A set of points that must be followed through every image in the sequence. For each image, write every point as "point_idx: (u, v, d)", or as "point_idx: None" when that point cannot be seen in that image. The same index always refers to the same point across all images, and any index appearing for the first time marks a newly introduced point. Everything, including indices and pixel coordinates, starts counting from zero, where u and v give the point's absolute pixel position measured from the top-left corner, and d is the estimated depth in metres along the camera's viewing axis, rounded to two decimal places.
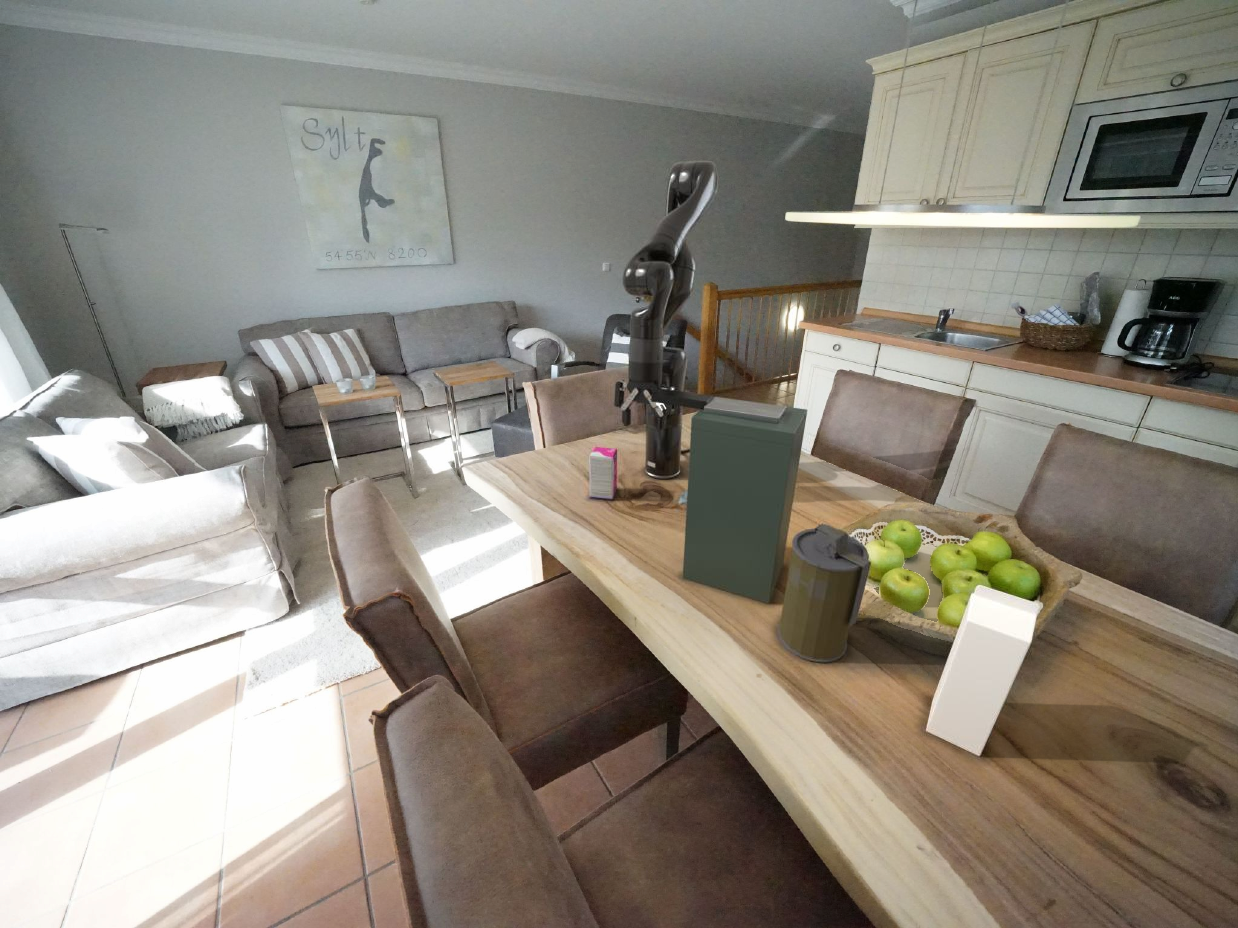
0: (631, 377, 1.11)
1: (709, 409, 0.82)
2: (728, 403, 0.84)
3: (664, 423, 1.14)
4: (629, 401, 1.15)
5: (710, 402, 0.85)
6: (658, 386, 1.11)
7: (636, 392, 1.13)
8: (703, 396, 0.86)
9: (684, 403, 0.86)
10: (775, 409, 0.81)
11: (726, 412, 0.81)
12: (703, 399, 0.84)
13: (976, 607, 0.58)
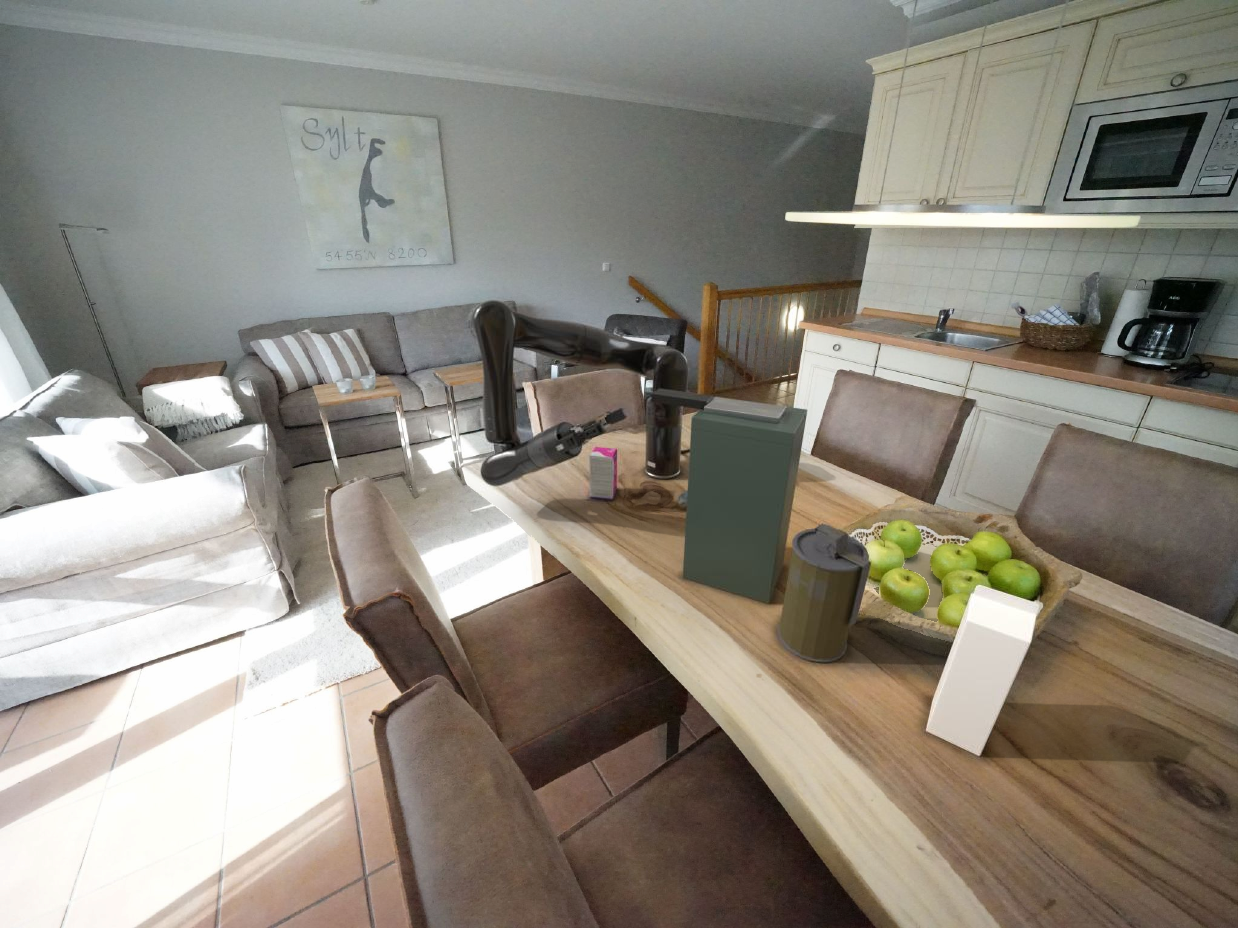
0: None
1: (709, 409, 0.82)
2: (728, 403, 0.84)
3: (592, 433, 0.92)
4: None
5: (710, 402, 0.85)
6: None
7: None
8: (703, 396, 0.86)
9: (684, 403, 0.86)
10: (775, 409, 0.81)
11: (726, 412, 0.81)
12: (703, 399, 0.84)
13: (976, 606, 0.58)
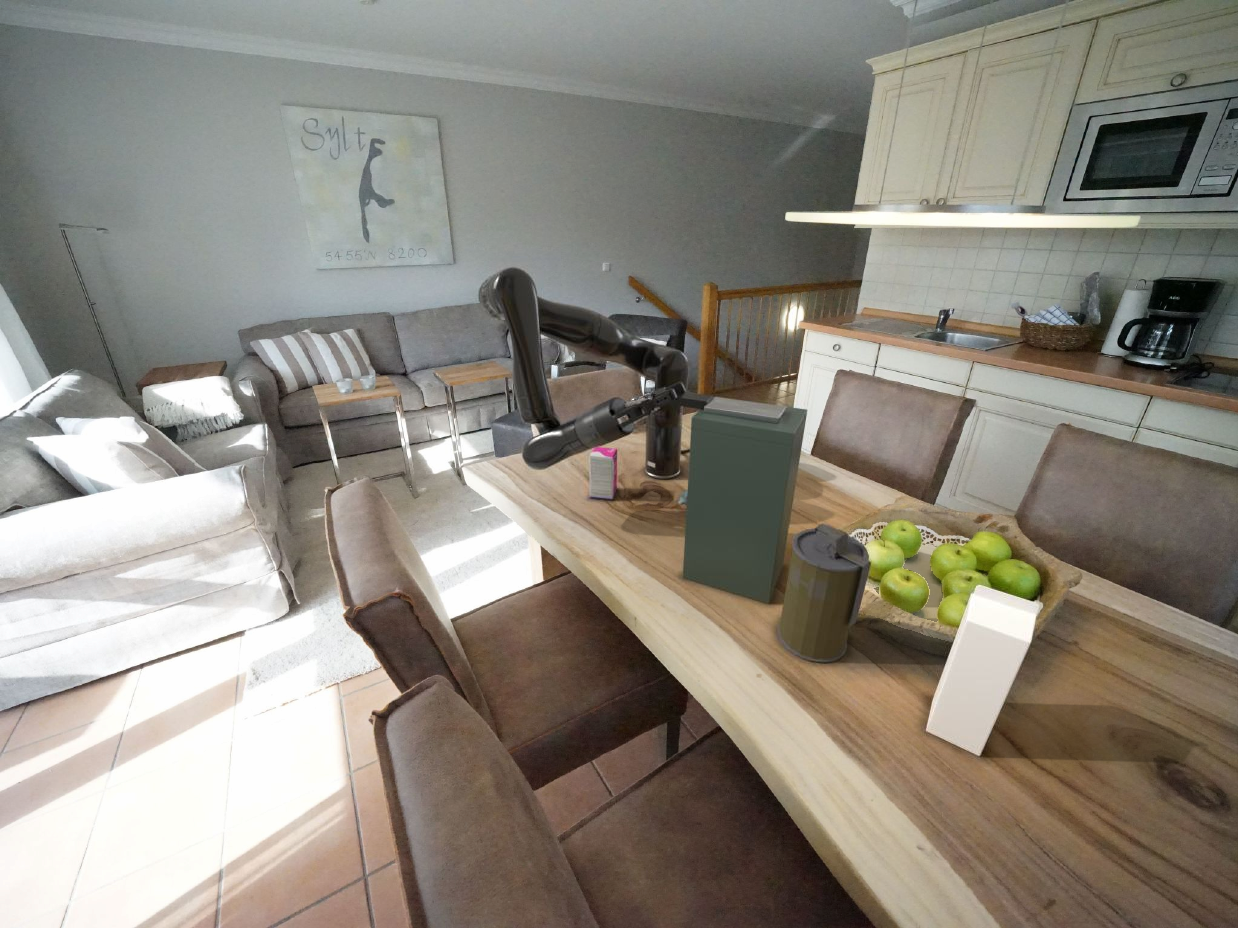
0: None
1: (709, 409, 0.82)
2: (728, 403, 0.84)
3: (663, 400, 0.86)
4: None
5: (710, 402, 0.85)
6: None
7: None
8: (703, 396, 0.86)
9: (684, 403, 0.86)
10: (775, 409, 0.81)
11: (726, 412, 0.81)
12: (703, 399, 0.84)
13: (976, 606, 0.58)
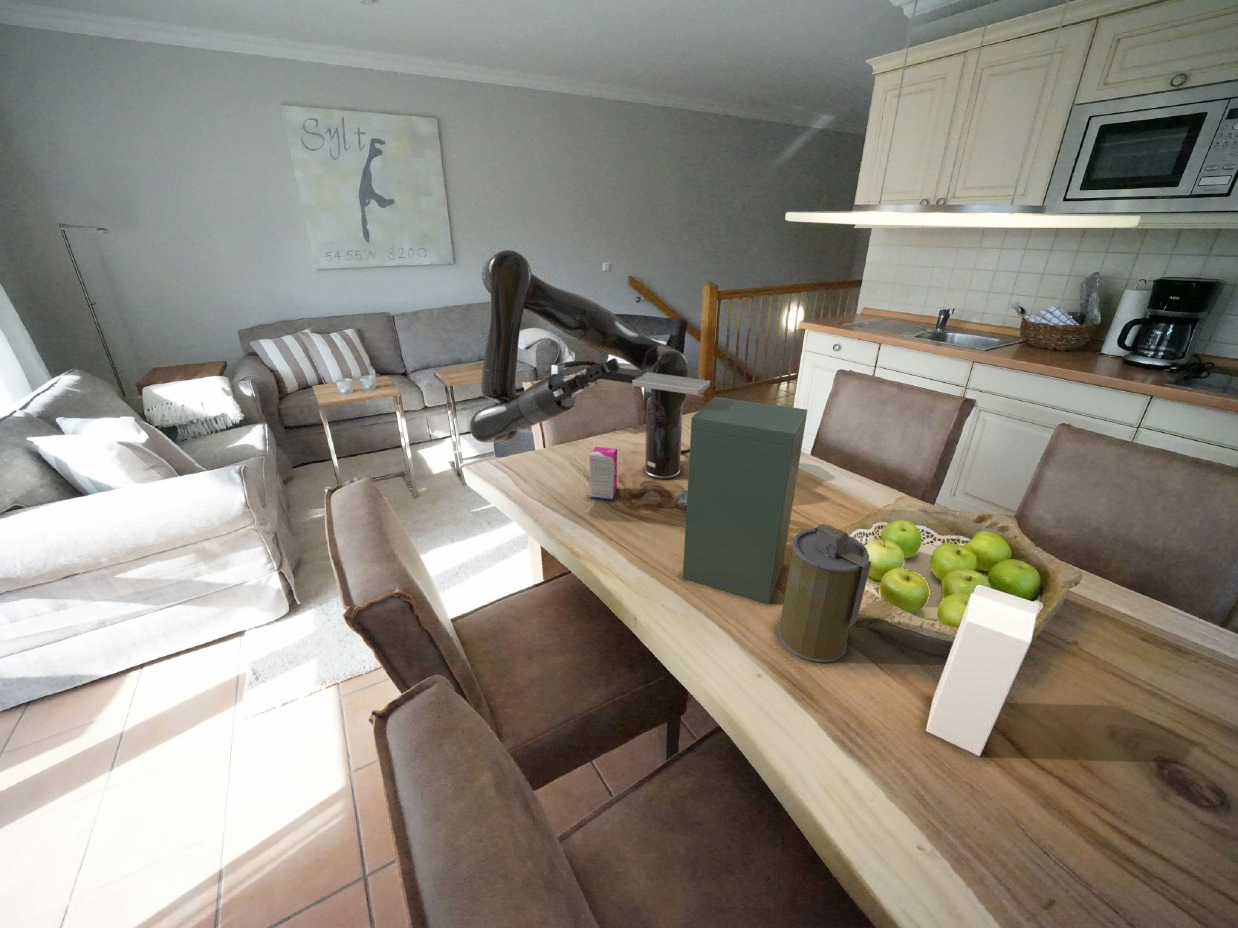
0: None
1: (637, 382, 0.87)
2: (656, 377, 0.88)
3: (595, 375, 0.90)
4: None
5: (639, 376, 0.89)
6: None
7: (580, 393, 0.98)
8: (634, 371, 0.90)
9: (615, 377, 0.90)
10: (698, 383, 0.85)
11: (652, 385, 0.86)
12: (633, 374, 0.89)
13: (976, 606, 0.58)
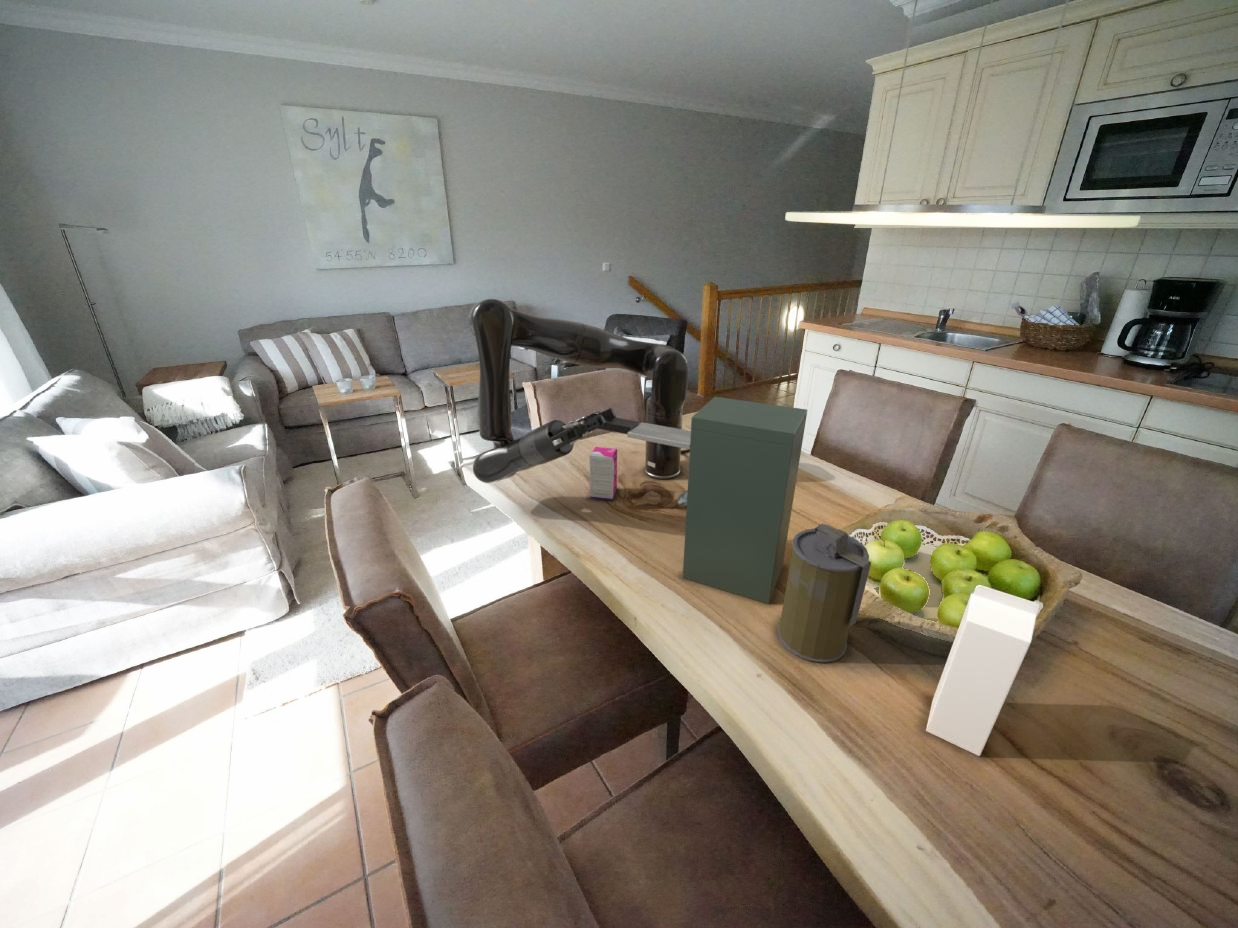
0: None
1: (632, 434, 0.91)
2: (650, 428, 0.93)
3: (593, 425, 0.94)
4: (590, 432, 1.01)
5: (634, 427, 0.93)
6: None
7: None
8: (629, 422, 0.95)
9: (611, 428, 0.94)
10: (690, 436, 0.90)
11: (646, 438, 0.90)
12: (628, 425, 0.93)
13: (976, 606, 0.58)
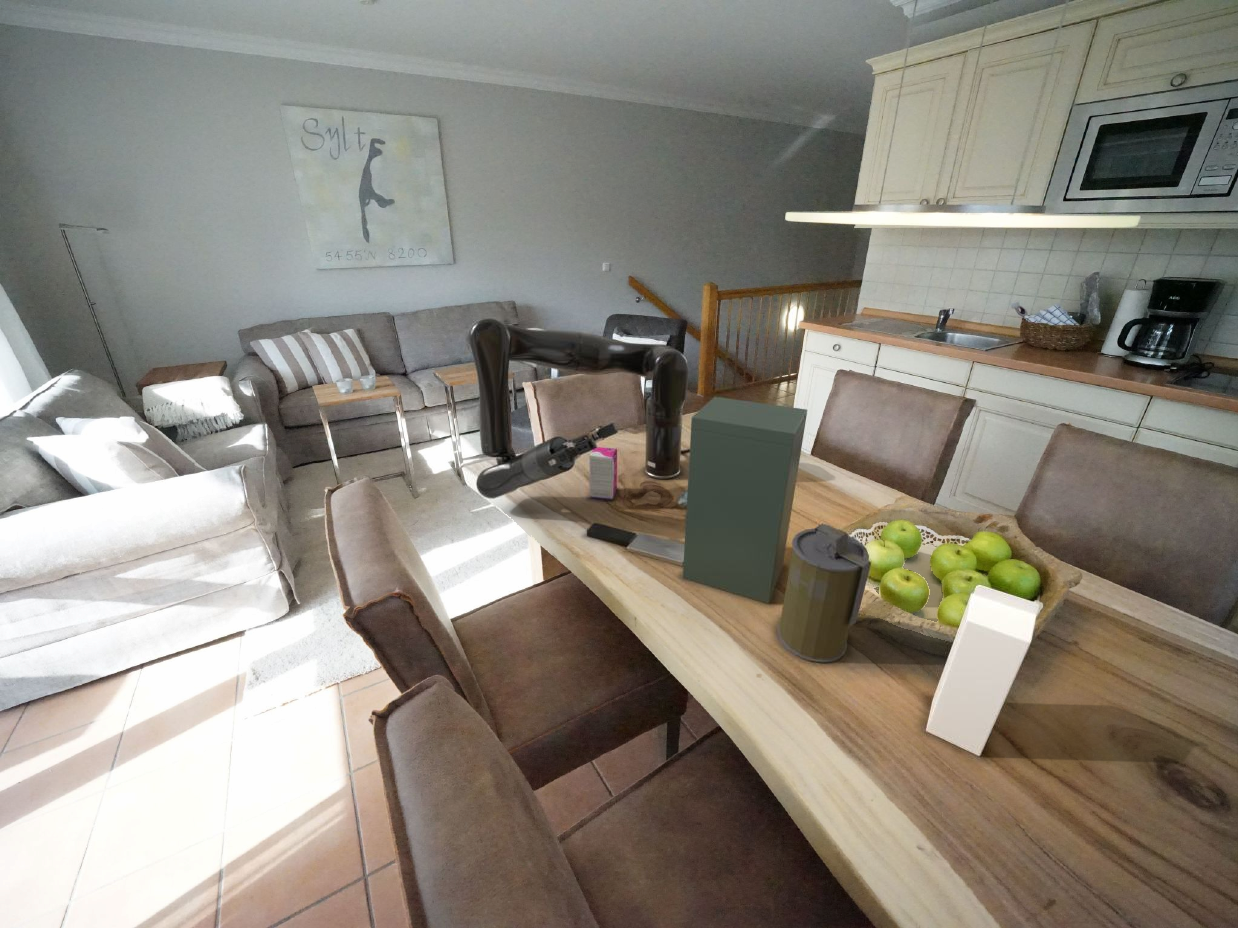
0: None
1: (631, 549, 1.02)
2: (647, 541, 1.04)
3: (584, 449, 0.95)
4: None
5: (633, 540, 1.04)
6: None
7: None
8: (628, 534, 1.06)
9: (612, 540, 1.05)
10: (682, 550, 1.01)
11: (643, 553, 1.01)
12: (627, 538, 1.04)
13: (976, 606, 0.58)
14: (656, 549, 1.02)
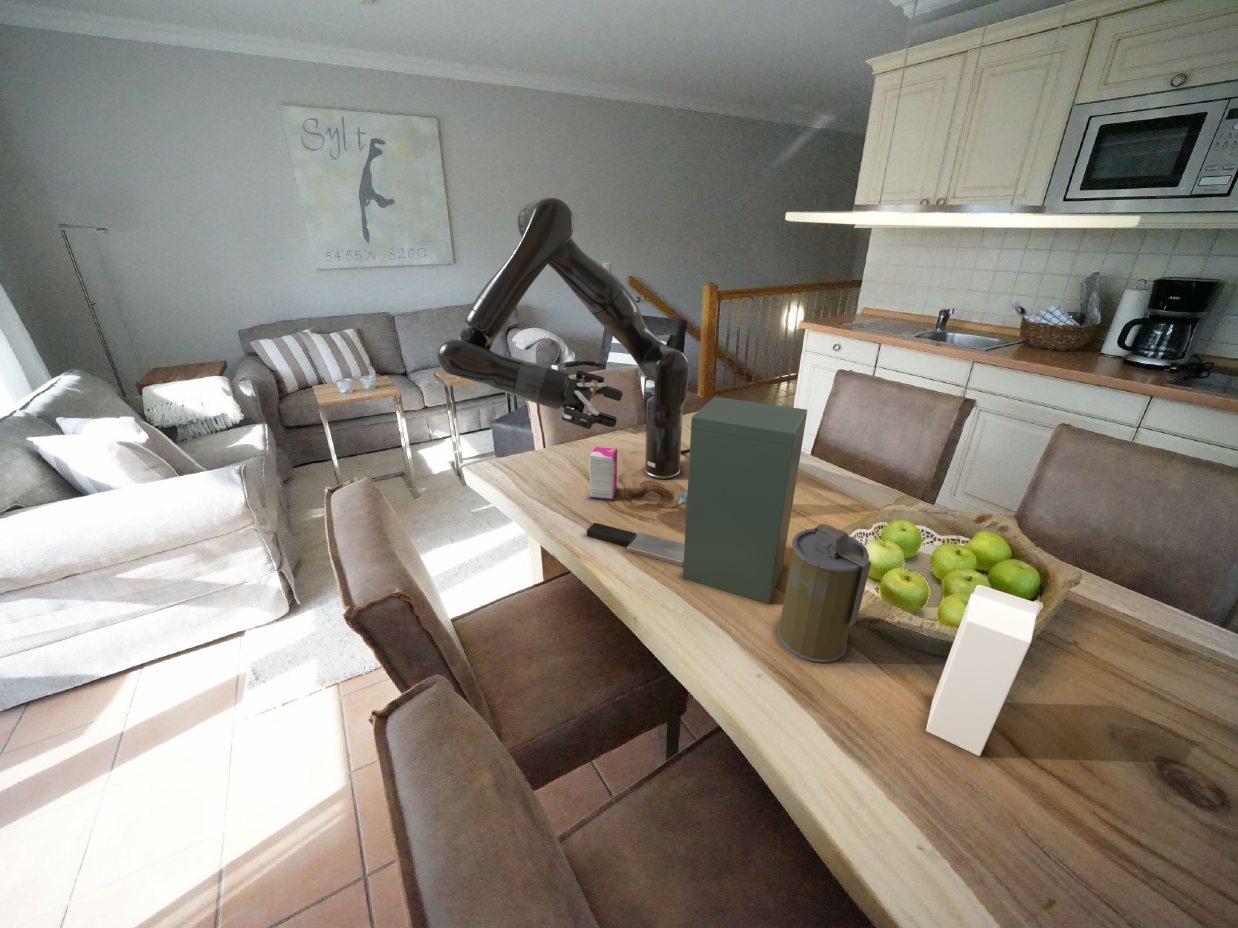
0: None
1: (631, 549, 1.02)
2: (647, 541, 1.04)
3: (605, 423, 0.98)
4: None
5: (633, 540, 1.04)
6: (564, 408, 0.99)
7: None
8: (628, 534, 1.06)
9: (612, 540, 1.05)
10: (682, 550, 1.01)
11: (643, 553, 1.01)
12: (627, 538, 1.04)
13: (976, 606, 0.58)
14: (656, 549, 1.02)
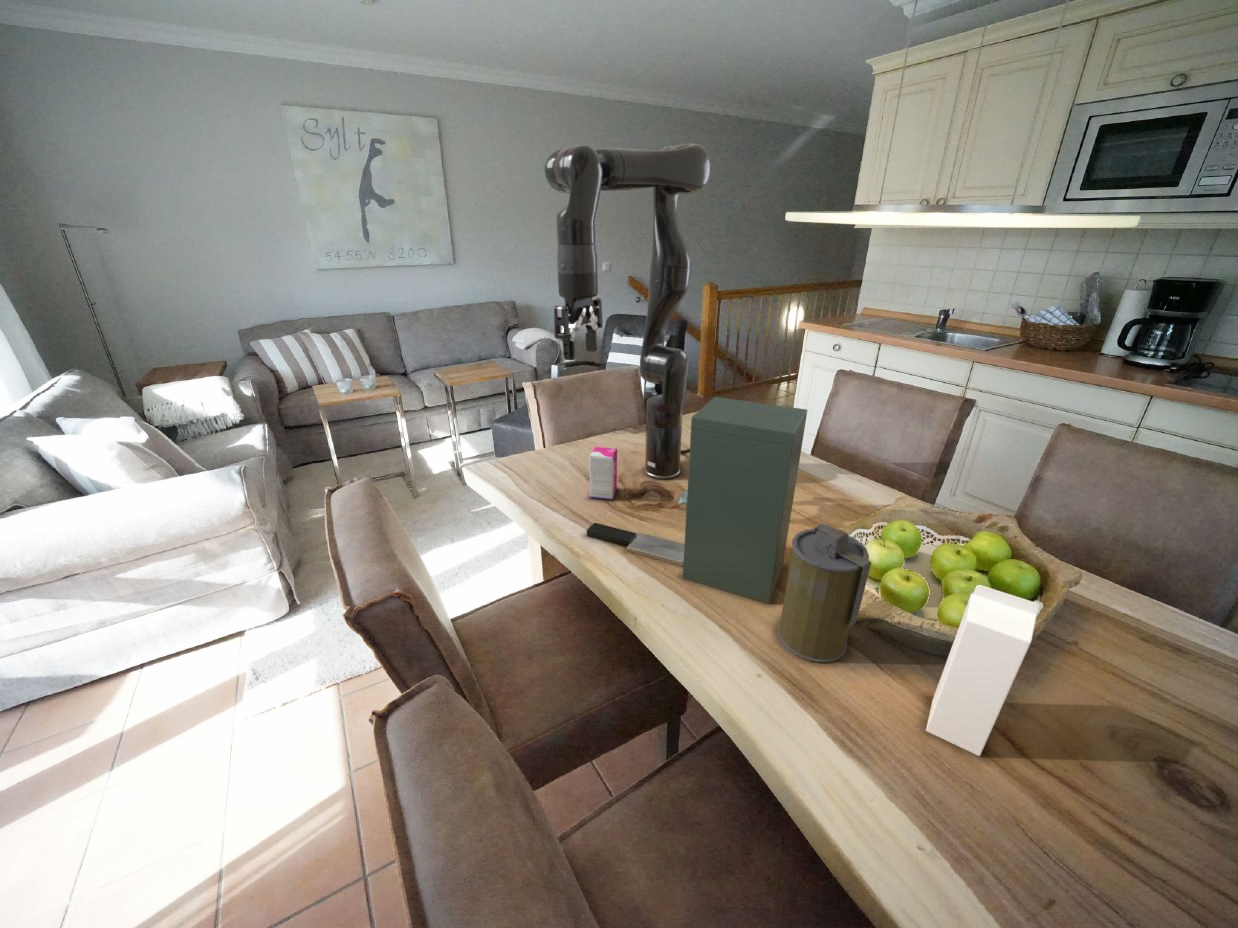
0: None
1: (631, 549, 1.02)
2: (647, 541, 1.04)
3: (565, 350, 0.98)
4: None
5: (633, 540, 1.04)
6: (564, 303, 0.96)
7: None
8: (628, 534, 1.06)
9: (612, 540, 1.05)
10: (682, 550, 1.01)
11: (643, 553, 1.01)
12: (627, 538, 1.04)
13: (976, 606, 0.58)
14: (656, 549, 1.02)
